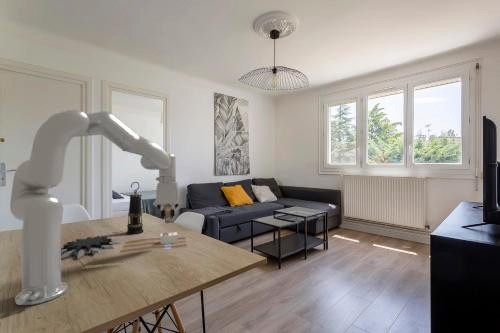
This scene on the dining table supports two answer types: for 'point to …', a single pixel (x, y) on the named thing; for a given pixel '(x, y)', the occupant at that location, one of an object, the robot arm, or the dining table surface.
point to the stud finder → (168, 238)
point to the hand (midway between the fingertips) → (168, 217)
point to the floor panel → (151, 245)
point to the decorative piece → (86, 246)
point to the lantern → (135, 214)
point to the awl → (167, 212)
